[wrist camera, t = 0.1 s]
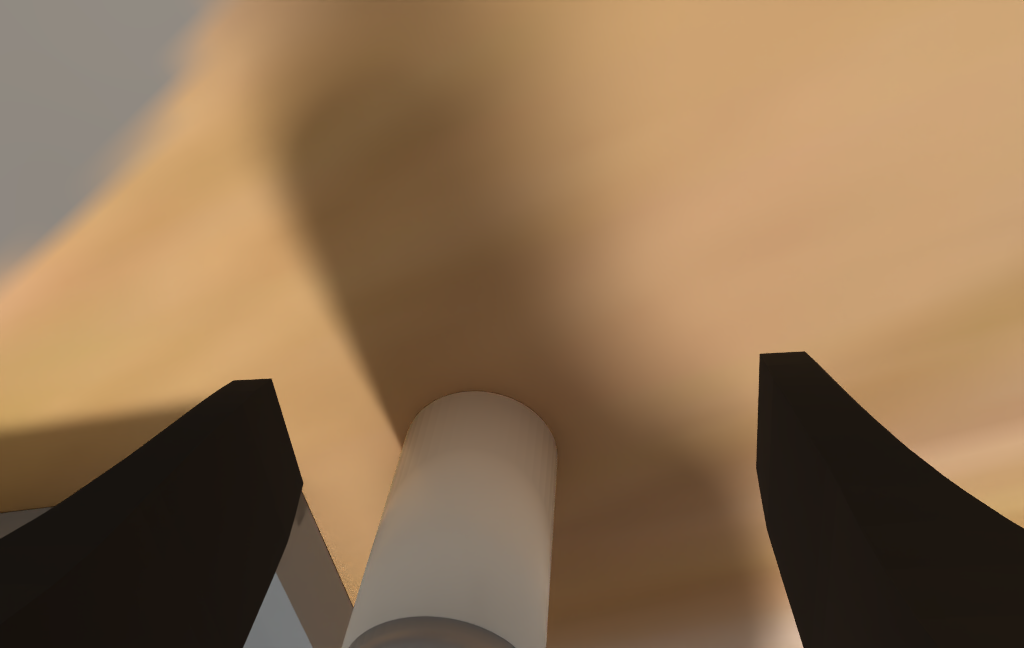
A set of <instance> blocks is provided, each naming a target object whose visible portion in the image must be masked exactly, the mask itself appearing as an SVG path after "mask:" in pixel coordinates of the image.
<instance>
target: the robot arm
mask: <svg viewBox="0 0 1024 648" xmlns="http://www.w3.org/2000/svg"><path fill="white" fill-rule="evenodd" d="M756 469H757V475H758V481H759V487H760V493H761V499H762V505H763V510H764V515H765V521H766V526H767V531H768V534H769V538H770V541H771V544H772V548H773V551H774V554H775V557H776V561H777V564H778V567H779V570H780V574H781V577H782V580H783V583H784V587H785V590H786V593H787V596H788V599H789V603H790V606H791V609H792V612H793V615H794V619H795V622H796V625H797V628H798V631H799V635H800V638H801V641H802V644H803V647H804V648H1024V528H1022V527H1020V526H1019V525H1017V524H1015V523H1013V522H1012V521H1010V520H1009V519H1007V518H1005V517H1004V516H1002V515H1001V514H999V513H998V512H996V511H995V510H993V509H992V508H990V507H989V506H987V505H986V504H984V503H982V502H981V501H979V500H978V499H976V498H975V497H973V496H972V495H970V494H969V493H967V492H966V491H964V490H963V489H961V488H960V487H959V486H957V485H956V484H954V483H953V482H952V481H950V480H949V479H947V478H946V477H945V476H943V475H942V474H941V473H939V472H938V471H937V470H935V469H934V468H933V467H932V466H930V465H929V464H928V463H927V462H925V461H924V460H923V459H921V458H920V457H919V456H918V455H916V454H915V453H914V452H912V451H911V450H910V449H909V448H907V447H906V446H905V445H904V444H903V443H901V442H900V441H899V440H898V439H897V438H896V437H895V436H893V435H892V434H891V433H890V432H889V431H888V430H887V429H886V428H884V427H883V426H882V425H881V424H880V423H879V422H878V421H877V420H875V419H874V418H873V417H872V416H871V415H870V414H869V413H868V412H867V411H866V410H865V409H863V408H862V407H861V406H860V405H859V404H858V403H857V402H856V401H855V400H854V399H853V398H852V397H851V396H850V395H849V394H848V393H847V392H846V391H845V390H844V389H843V388H842V387H841V386H840V385H839V384H838V383H837V382H836V381H835V380H834V379H833V378H832V377H831V376H830V375H829V374H828V373H827V372H826V371H825V370H824V369H823V368H822V367H821V366H820V365H819V364H818V363H817V362H815V361H814V360H813V359H812V358H811V357H810V356H809V355H808V354H807V353H806V352H786V353H766V354H760V365H759V397H758V429H757V461H756ZM302 487H303V480H302V477H301V474H300V471H299V467H298V464H297V461H296V457H295V454H294V451H293V448H292V444H291V441H290V438H289V434H288V431H287V428H286V425H285V421H284V418H283V415H282V412H281V408H280V405H279V402H278V398H277V395H276V392H275V389H274V385H273V382H272V379H255V380H235V381H232V382H230V383H229V384H227V385H226V386H224V387H222V388H221V389H219V390H218V391H216V392H215V393H213V394H212V395H211V396H209V397H208V398H206V399H205V400H204V401H202V402H201V403H199V404H198V405H197V406H195V407H194V408H193V409H191V410H190V411H189V412H187V413H186V414H185V415H183V416H182V417H181V418H179V419H178V420H177V421H175V422H174V423H173V424H171V425H170V426H169V427H167V428H166V429H164V430H163V431H162V432H160V433H159V434H158V435H156V436H155V437H154V438H152V439H151V440H150V441H148V442H147V443H146V444H144V445H143V446H142V447H140V448H139V449H138V450H136V451H135V452H133V453H132V454H131V455H129V456H128V457H127V458H125V459H124V460H122V461H121V462H119V463H118V464H117V465H115V466H114V467H112V468H111V469H109V470H108V471H106V472H105V473H103V474H102V475H101V476H99V477H98V478H96V479H95V480H93V481H92V482H90V483H89V484H87V485H86V486H85V487H83V488H82V489H80V490H79V491H77V492H76V493H74V494H73V495H72V496H70V497H69V498H67V499H65V500H64V501H62V502H61V503H59V504H58V505H56V506H54V507H53V508H51V509H50V510H48V511H46V512H45V513H43V514H42V515H40V516H38V517H37V518H35V519H33V520H32V521H30V522H28V523H26V524H25V525H23V526H21V527H19V528H18V529H16V530H14V531H13V532H11V533H9V534H7V535H6V536H4V537H2V538H0V648H243V647H244V645H245V642H246V640H247V638H248V635H249V633H250V631H251V628H252V626H253V624H254V621H255V619H256V617H257V614H258V612H259V610H260V607H261V605H262V603H263V601H264V598H265V596H266V594H267V591H268V589H269V587H270V584H271V582H272V579H273V577H274V575H275V572H276V570H277V567H278V565H279V563H280V560H281V558H282V555H283V553H284V550H285V548H286V545H287V543H288V540H289V537H290V533H291V529H292V526H293V522H294V519H295V515H296V511H297V507H298V503H299V499H300V495H301V491H302Z"/></svg>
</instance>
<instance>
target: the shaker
mask: <svg viewBox="0 0 1024 648" xmlns="http://www.w3.org/2000/svg"><path fill="white" fill-rule="evenodd" d="M556 476H557V447H556V443H555V440H554V437H553V435H552V433H551V431H550V429H549V428H548V426H547V425H546V423H545V422H544V421H543V420H542V419H541V418H540V417H539V416H538V415H537V414H536V413H535V412H534V411H533V410H531V409H530V408H528V407H527V406H525V405H524V404H522V403H520V402H518V401H516V400H514V399H512V398H509V397H506V396H504V395H500V394H496V393H491V392H483V391H468V392H459V393H454V394H450V395H447V396H444V397H442V398H439V399H437V400H435V401H433V402H432V403H430V404H429V405H427V406H426V407H425V408H423V409H422V410H421V411H420V412H419V413H418V414H417V416H416V417H415V418H414V419H413V421H412V423H411V424H410V427H409V429H408V431H407V434H406V438H405V441H404V444H403V448H402V451H401V454H400V457H399V461H398V464H397V467H396V471H395V474H394V477H393V480H392V484H391V487H390V490H389V494H388V497H387V500H386V503H385V507H384V510H383V513H382V516H381V520H380V523H379V526H378V530H377V533H376V536H375V539H374V543H373V546H372V549H371V553H370V556H369V559H368V562H367V566H366V569H365V572H364V576H363V579H362V582H361V585H360V589H359V592H358V595H357V599H356V602H355V605H354V608H353V612H352V615H351V618H350V622H349V625H348V628H347V631H346V635H345V638H344V641H343V645H342V648H546V641H547V624H548V608H549V591H550V575H551V558H552V542H553V526H554V509H555V493H556Z"/></svg>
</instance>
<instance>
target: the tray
mask: <svg viewBox="0 0 1024 648" xmlns="http://www.w3.org/2000/svg"><path fill="white" fill-rule="evenodd" d="M51 508H53V507H48V508H40V509H32V510H24V511H15V512H7V513H0V538H2V537H4V536H6V535H7V534H9V533H11V532H13V531H14V530H16V529H18V528H19V527H21V526H23V525H25V524H26V523H28V522H30V521H32V520H33V519H35V518H37V517H38V516H40V515H42V514H43V513H45V512H46V511H48V510H50V509H51ZM352 612H353V607H352V604H351V602H350V600H349V598H348V595H347V593H346V591H345V589H344V586H343V584H342V582H341V580H340V577H339V575H338V573H337V571H336V568H335V566H334V564H333V562H332V559H331V557H330V555H329V552H328V550H327V548H326V546H325V543H324V541H323V539H322V537H321V534H320V532H319V530H318V528H317V525H316V523H315V521H314V519H313V516H312V514H311V512H310V510H309V507H308V505H307V503H306V501H305V498H304V496H303V494H302V492H301V495H300V499H299V503H298V507H297V511H296V515H295V519H294V522H293V526H292V529H291V533H290V537H289V540H288V543H287V545H286V548H285V550H284V553H283V555H282V558H281V560H280V563H279V565H278V567H277V570H276V572H275V575H274V577H273V579H272V582H271V584H270V587H269V589H268V591H267V594H266V596H265V598H264V601H263V603H262V605H261V607H260V610H259V612H258V614H257V617H256V619H255V621H254V624H253V626H252V628H251V631H250V633H249V635H248V638H247V640H246V642H245V645H244V647H243V648H342V645H343V641H344V638H345V635H346V631H347V628H348V625H349V622H350V618H351V615H352Z"/></svg>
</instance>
